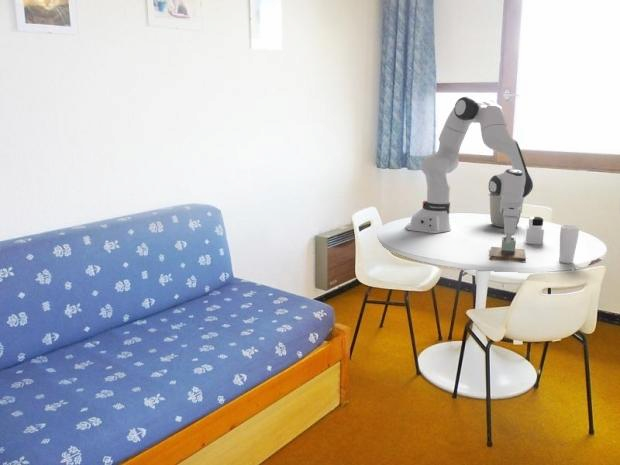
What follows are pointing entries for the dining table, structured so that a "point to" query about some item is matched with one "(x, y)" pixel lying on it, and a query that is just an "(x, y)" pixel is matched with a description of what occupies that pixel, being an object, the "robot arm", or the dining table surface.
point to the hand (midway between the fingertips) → (507, 239)
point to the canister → (497, 211)
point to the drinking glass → (568, 243)
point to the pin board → (497, 254)
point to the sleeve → (508, 246)
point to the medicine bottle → (535, 231)
